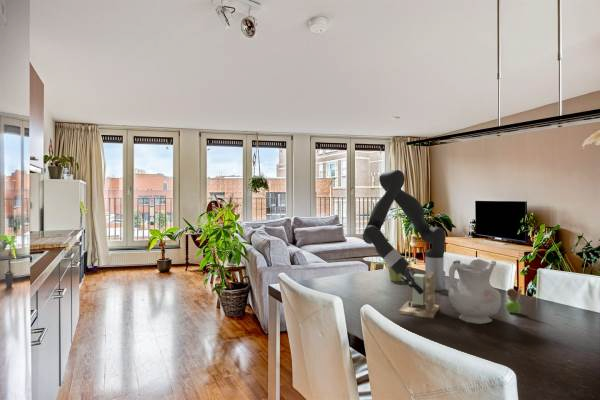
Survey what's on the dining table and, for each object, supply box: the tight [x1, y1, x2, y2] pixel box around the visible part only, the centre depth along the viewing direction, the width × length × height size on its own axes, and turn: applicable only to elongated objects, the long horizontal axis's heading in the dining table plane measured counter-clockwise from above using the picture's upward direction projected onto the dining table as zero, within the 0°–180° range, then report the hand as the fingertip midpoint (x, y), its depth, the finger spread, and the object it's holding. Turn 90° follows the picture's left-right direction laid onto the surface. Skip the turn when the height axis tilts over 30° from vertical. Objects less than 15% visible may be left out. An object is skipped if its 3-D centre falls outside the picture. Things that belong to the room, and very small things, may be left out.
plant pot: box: [387, 265, 402, 282], centre depth 218 cm, size 9×9×9 cm
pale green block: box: [411, 273, 426, 305], centre depth 161 cm, size 4×6×12 cm
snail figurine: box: [505, 286, 523, 314], centre depth 156 cm, size 5×6×12 cm
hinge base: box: [398, 272, 440, 319], centre depth 161 cm, size 14×16×16 cm
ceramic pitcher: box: [448, 258, 502, 325], centre depth 149 cm, size 22×19×25 cm
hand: (423, 291), depth 160 cm, fingers closed on pale green block, 5 cm apart
